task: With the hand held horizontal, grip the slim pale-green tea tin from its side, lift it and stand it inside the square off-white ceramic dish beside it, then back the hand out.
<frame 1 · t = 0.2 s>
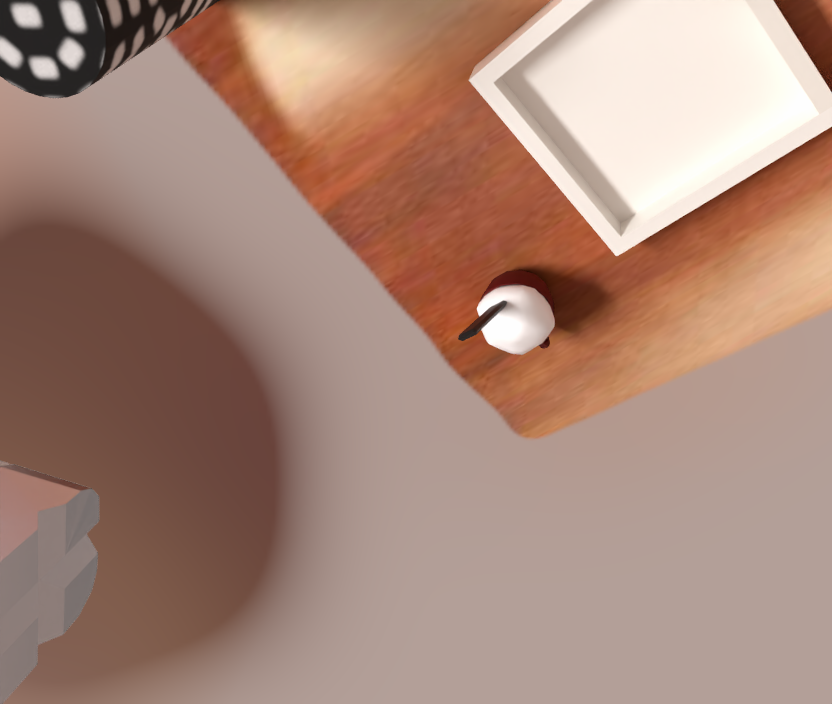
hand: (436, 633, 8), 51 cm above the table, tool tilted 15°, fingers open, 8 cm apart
dish: (650, 82, 54), on the table
cocoa: (519, 286, 66), on the table
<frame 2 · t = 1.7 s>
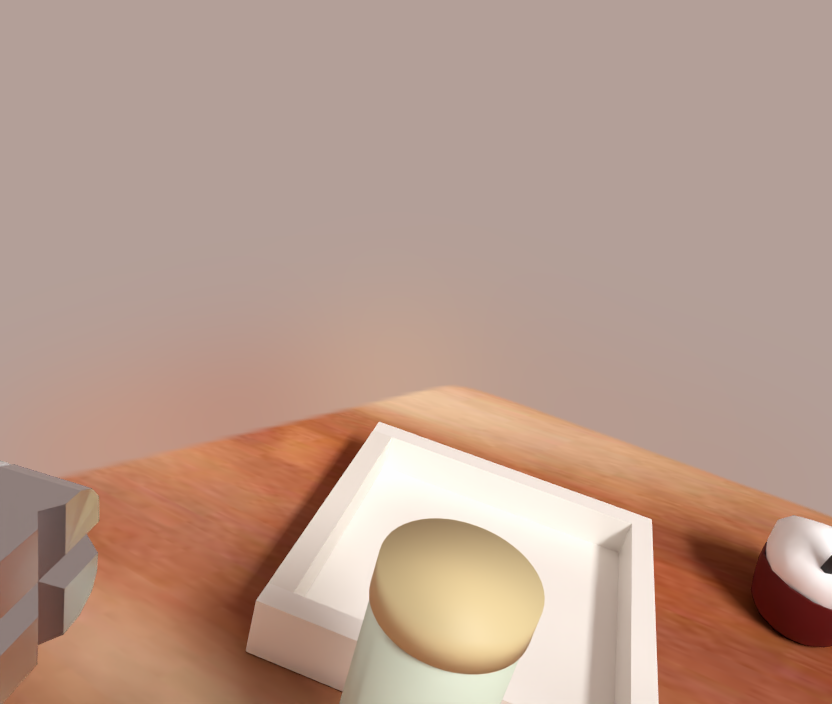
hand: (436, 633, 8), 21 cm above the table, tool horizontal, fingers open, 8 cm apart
dish: (471, 597, 40), on the table
cocoa: (787, 625, 45), on the table
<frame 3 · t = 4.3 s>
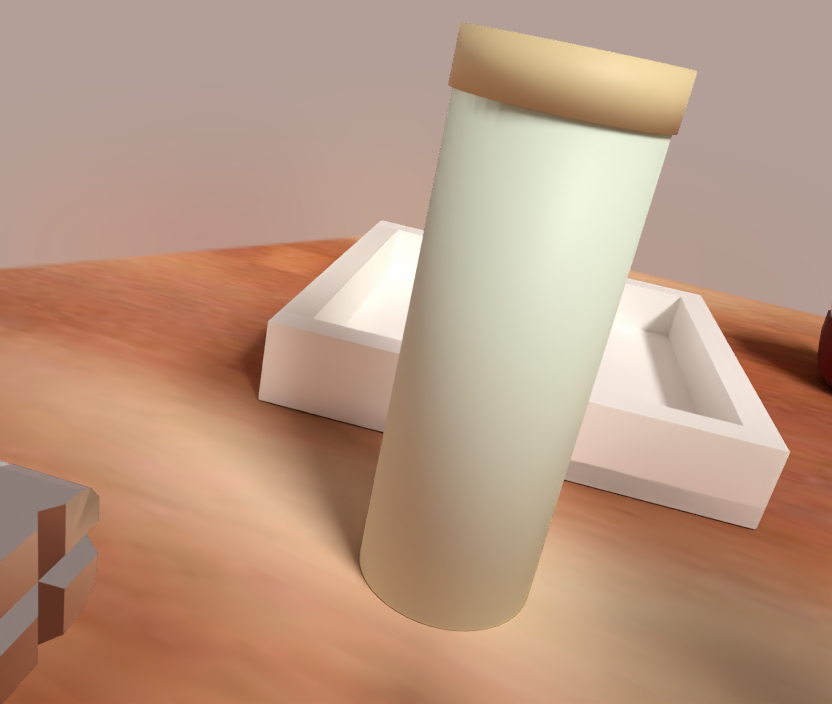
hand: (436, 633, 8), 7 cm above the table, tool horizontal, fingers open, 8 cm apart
tea tin: (444, 567, 21), on the table
dish: (514, 367, 34), on the table
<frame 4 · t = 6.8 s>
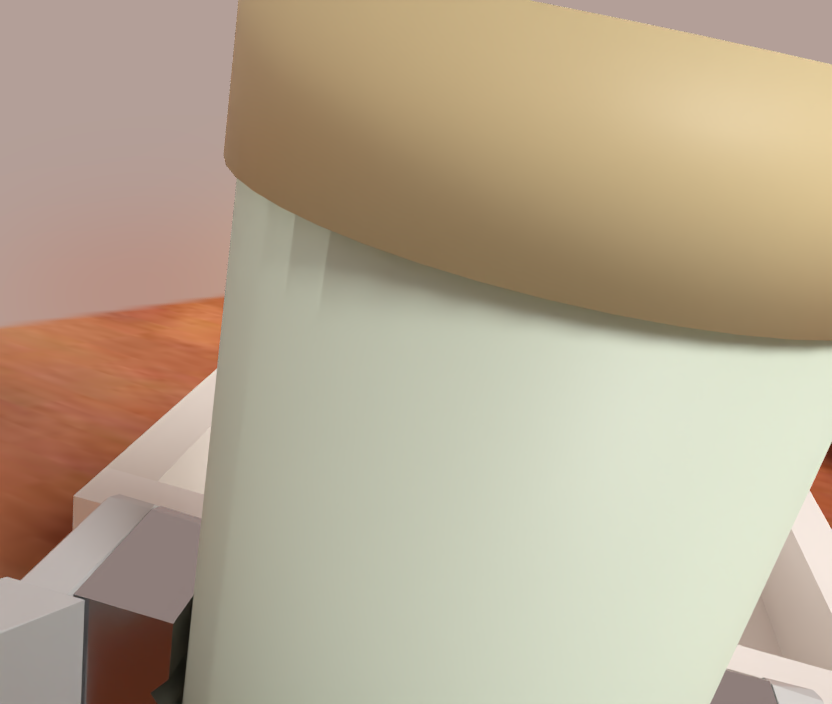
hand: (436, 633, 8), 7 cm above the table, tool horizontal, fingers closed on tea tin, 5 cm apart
dish: (493, 503, 24), on the table
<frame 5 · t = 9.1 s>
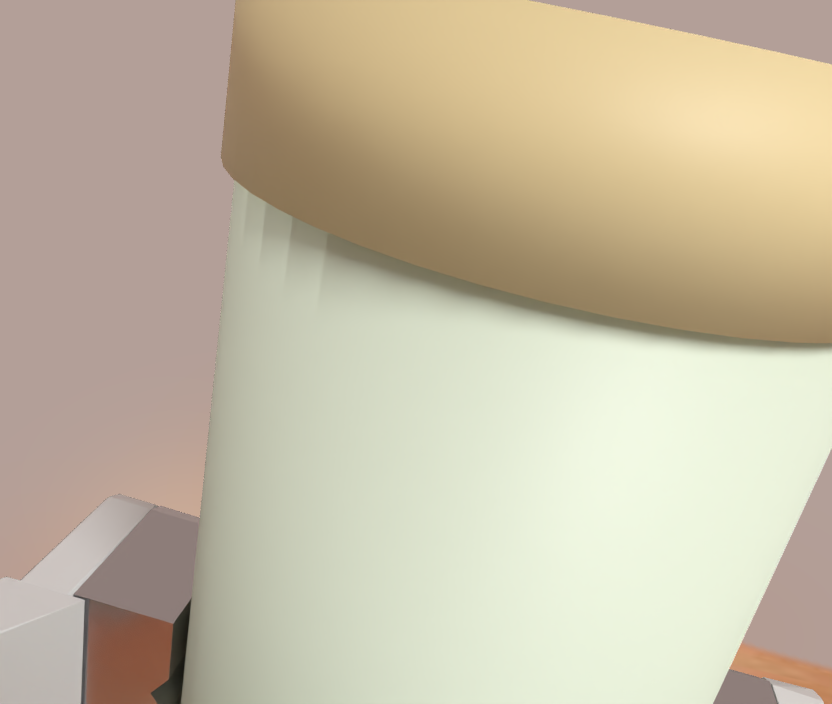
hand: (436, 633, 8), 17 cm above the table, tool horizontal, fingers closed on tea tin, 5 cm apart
when the fingers open (8 cm above the table, at t = 11.3 s): tea tin stays where it is, resting on dish.
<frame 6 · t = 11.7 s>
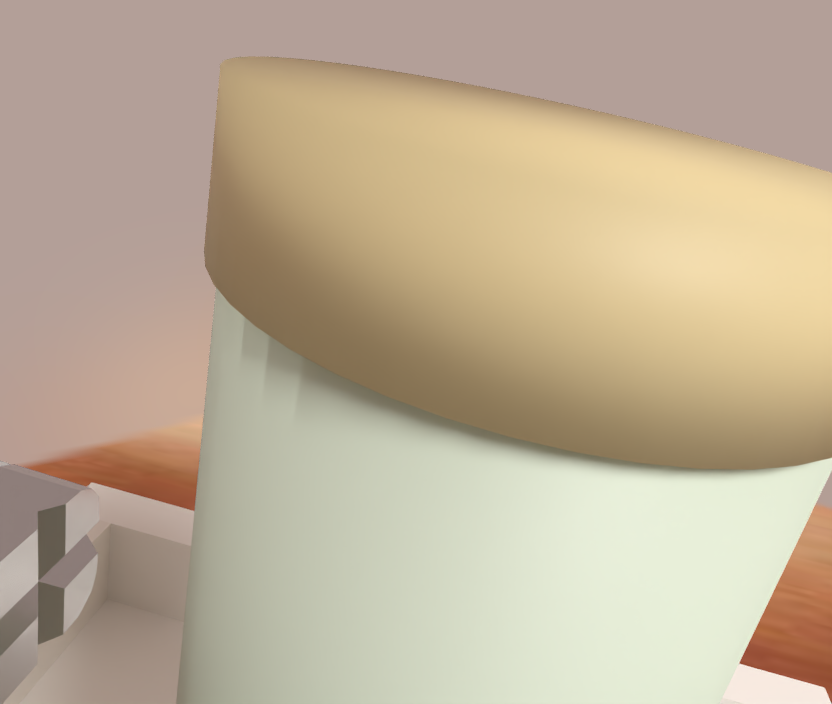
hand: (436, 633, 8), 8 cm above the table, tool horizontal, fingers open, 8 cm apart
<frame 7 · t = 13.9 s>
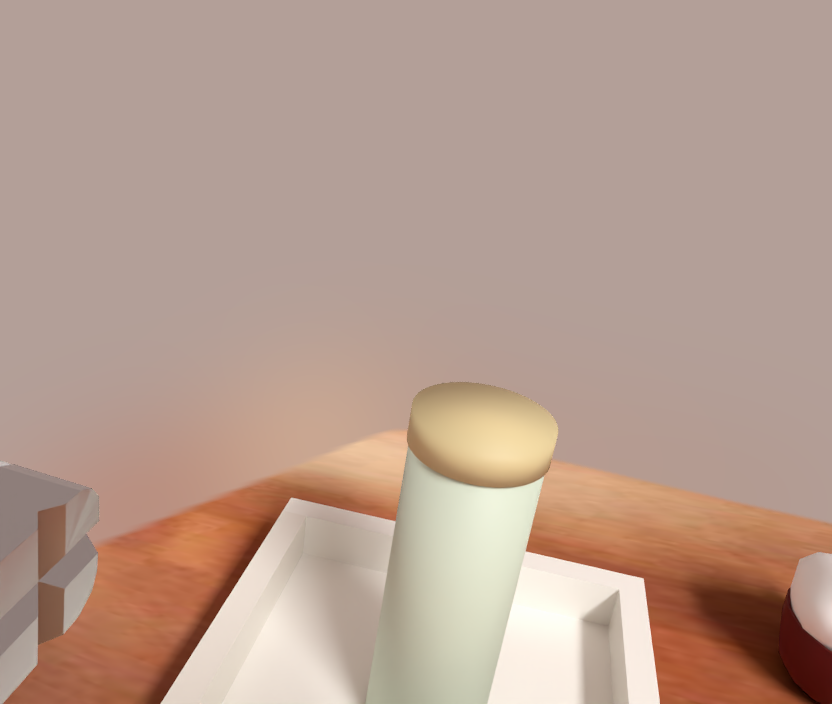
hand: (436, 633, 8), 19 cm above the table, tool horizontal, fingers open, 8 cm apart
cocoa: (829, 691, 36), on the table
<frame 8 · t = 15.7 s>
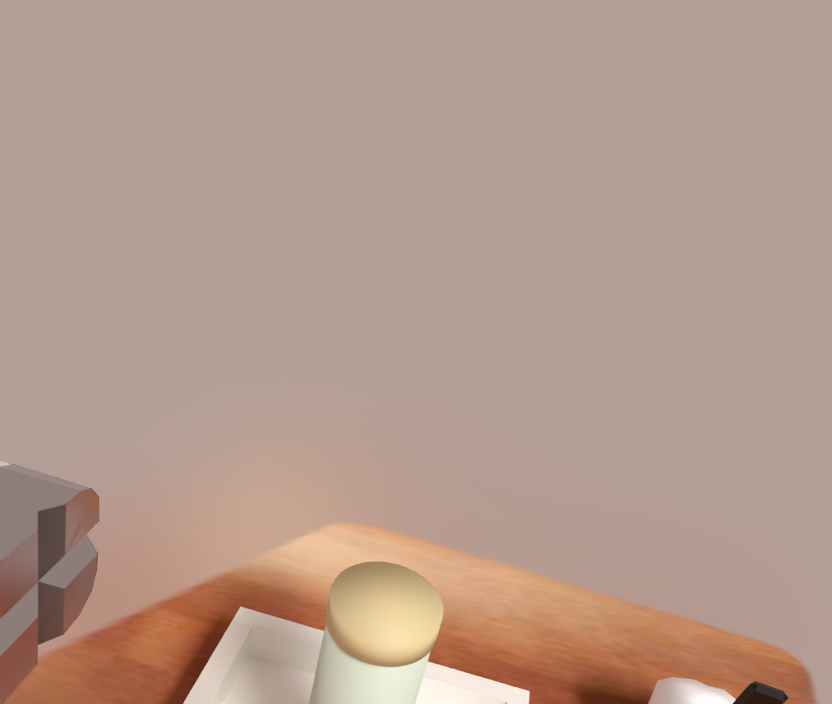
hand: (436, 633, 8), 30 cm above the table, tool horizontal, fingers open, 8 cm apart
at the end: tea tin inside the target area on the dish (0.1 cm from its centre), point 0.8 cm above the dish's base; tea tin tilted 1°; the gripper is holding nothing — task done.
